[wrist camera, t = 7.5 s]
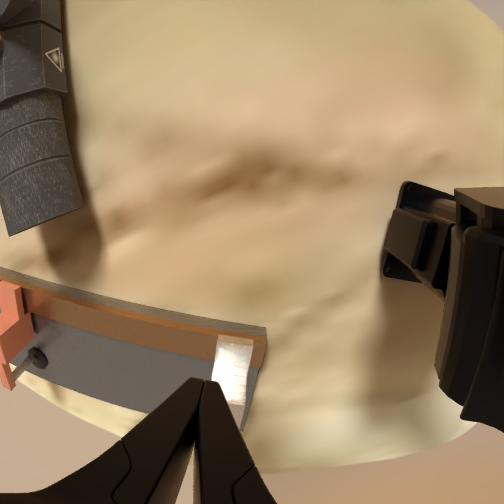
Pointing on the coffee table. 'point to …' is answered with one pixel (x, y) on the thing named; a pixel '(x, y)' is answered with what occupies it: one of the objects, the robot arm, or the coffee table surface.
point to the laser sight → (33, 117)
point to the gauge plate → (134, 347)
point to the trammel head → (13, 332)
